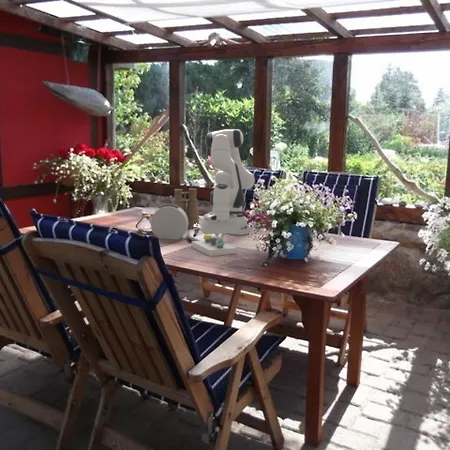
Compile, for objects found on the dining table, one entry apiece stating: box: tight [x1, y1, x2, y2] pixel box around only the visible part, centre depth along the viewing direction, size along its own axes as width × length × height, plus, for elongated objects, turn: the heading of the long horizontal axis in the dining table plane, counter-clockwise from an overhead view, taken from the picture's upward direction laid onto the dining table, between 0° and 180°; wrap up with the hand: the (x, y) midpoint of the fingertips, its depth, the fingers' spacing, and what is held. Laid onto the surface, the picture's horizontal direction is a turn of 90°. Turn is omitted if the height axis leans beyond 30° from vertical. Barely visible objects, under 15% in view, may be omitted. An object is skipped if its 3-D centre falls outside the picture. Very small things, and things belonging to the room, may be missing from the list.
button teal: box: [216, 240, 226, 248], centre depth 279 cm, size 5×5×5 cm
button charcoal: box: [209, 236, 217, 245], centre depth 285 cm, size 5×5×5 cm
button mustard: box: [203, 234, 213, 242], centre depth 291 cm, size 5×5×5 cm
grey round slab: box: [150, 203, 189, 240], centre depth 310 cm, size 21×8×20 cm, turn 84°
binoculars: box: [172, 187, 201, 229], centre depth 341 cm, size 21×10×25 cm, turn 125°
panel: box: [191, 239, 238, 257], centre depth 285 cm, size 16×22×3 cm
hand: (219, 241), depth 278 cm, fingers closed, pressing on button teal
